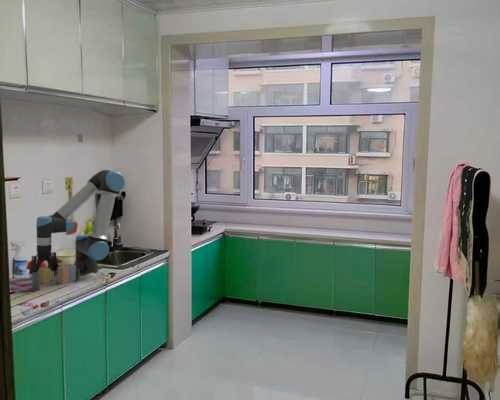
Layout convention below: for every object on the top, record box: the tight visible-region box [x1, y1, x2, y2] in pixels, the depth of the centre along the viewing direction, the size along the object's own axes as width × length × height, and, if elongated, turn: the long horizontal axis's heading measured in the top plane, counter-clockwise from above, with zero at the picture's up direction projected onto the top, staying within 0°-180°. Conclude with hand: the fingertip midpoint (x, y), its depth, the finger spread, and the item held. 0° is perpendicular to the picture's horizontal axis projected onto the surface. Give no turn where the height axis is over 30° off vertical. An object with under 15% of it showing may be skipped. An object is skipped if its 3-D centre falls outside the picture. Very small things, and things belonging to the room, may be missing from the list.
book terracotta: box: [57, 265, 71, 285], centre depth 262 cm, size 4×5×9 cm
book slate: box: [63, 263, 77, 283], centre depth 266 cm, size 4×5×9 cm
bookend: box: [27, 272, 41, 292], centre depth 247 cm, size 4×5×9 cm
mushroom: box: [25, 258, 48, 280], centre depth 272 cm, size 11×11×12 cm
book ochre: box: [38, 267, 51, 284], centre depth 262 cm, size 4×5×9 cm
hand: (44, 283), depth 262 cm, fingers open, 9 cm apart
